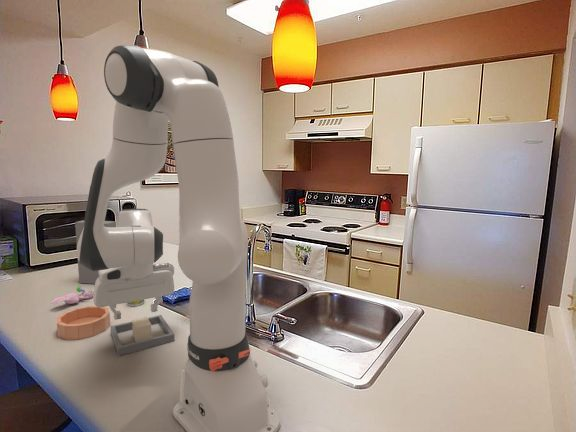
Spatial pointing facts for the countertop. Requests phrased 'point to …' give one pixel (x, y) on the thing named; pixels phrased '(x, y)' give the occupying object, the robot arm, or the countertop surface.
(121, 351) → the grey rectangular frame
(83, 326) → the bowl
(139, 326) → the cream block
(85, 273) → the tall grey upright pillar
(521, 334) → the countertop surface
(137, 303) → the supplement bottle
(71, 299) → the rabbit figure
